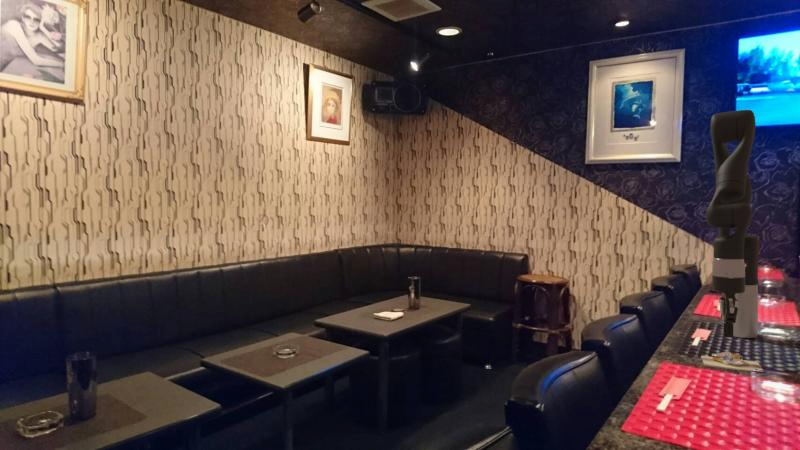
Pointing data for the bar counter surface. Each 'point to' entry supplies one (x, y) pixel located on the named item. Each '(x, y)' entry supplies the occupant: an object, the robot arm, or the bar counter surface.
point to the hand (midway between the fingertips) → (728, 336)
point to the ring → (727, 357)
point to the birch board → (731, 364)
